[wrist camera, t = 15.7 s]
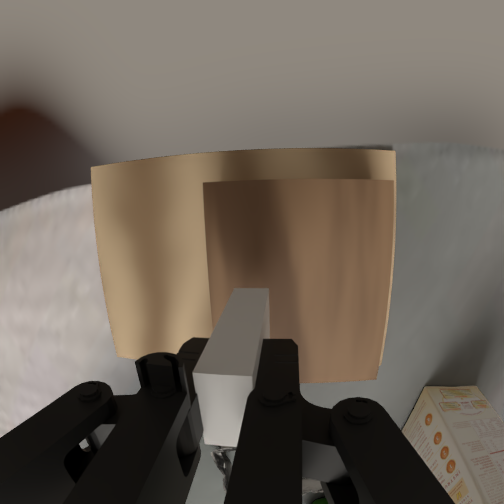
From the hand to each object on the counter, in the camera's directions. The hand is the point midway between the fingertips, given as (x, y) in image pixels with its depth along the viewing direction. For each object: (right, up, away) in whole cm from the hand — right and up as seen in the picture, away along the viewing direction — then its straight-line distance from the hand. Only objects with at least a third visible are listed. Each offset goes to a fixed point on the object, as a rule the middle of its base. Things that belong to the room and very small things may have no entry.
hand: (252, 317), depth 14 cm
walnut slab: (-2, +1, +6) cm, 6 cm away
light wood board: (-1, +2, +8) cm, 9 cm away
